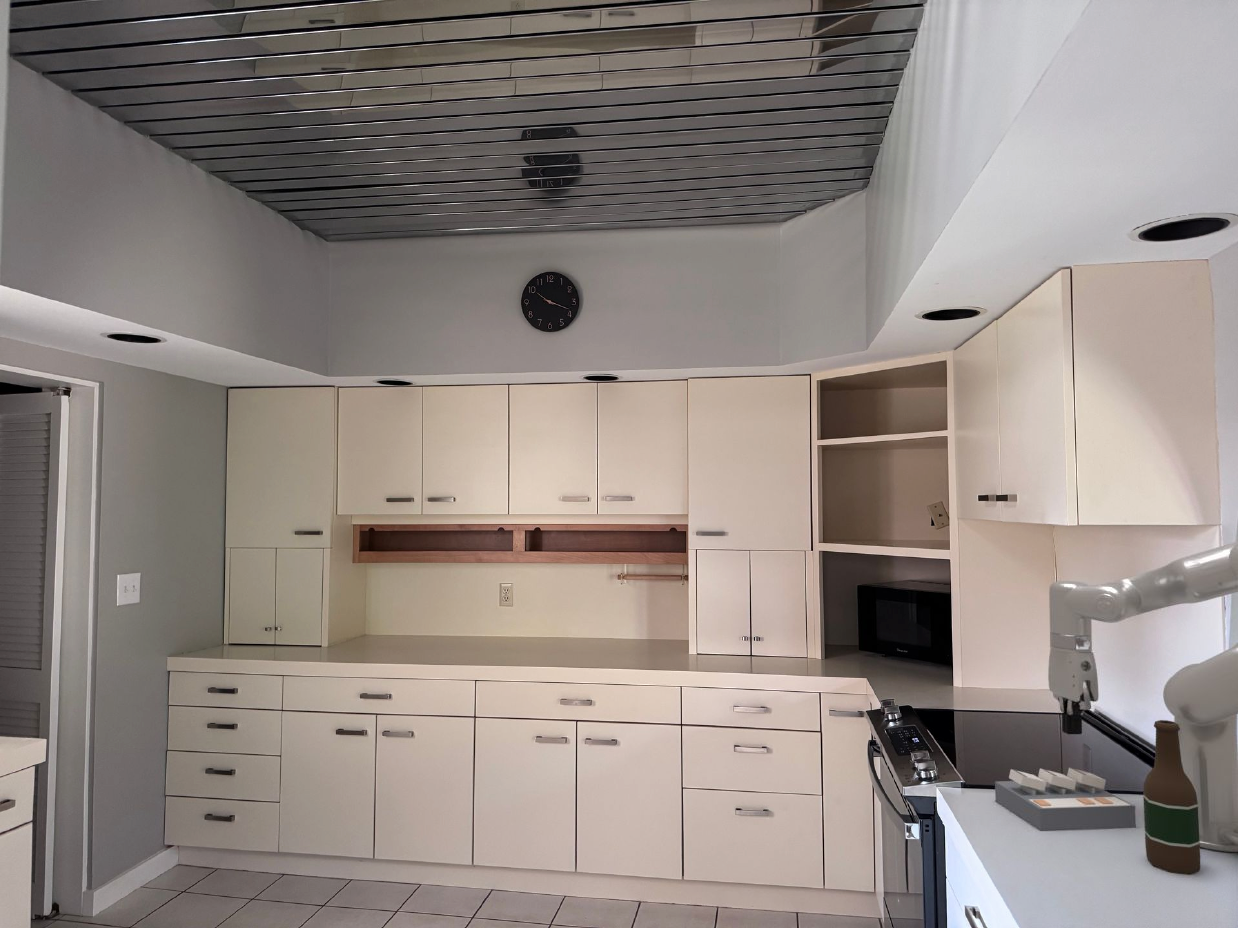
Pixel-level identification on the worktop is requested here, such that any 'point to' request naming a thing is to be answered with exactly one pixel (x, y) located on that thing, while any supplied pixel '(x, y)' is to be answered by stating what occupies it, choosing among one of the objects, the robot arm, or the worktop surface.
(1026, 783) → the rocker
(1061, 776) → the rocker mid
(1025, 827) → the worktop surface
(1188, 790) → the beer bottle
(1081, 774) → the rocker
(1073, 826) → the switch unit
